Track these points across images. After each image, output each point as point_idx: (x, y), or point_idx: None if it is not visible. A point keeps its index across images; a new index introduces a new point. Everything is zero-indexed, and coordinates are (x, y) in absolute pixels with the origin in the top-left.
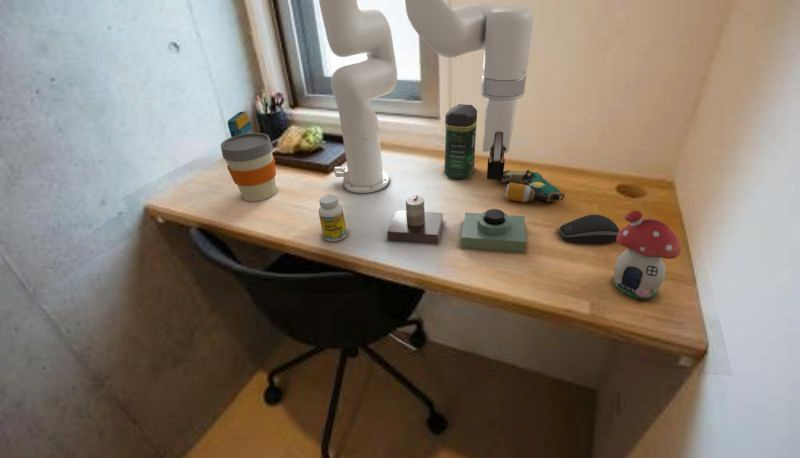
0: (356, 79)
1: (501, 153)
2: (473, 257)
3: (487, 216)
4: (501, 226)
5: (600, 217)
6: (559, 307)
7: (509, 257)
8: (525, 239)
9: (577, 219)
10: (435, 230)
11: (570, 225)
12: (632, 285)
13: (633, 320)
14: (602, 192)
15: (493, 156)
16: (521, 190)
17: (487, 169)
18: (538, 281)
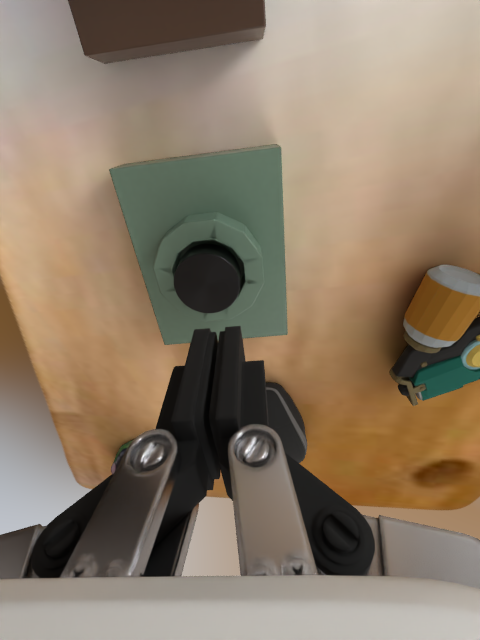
0: None
1: (179, 552)
2: (97, 212)
3: (181, 264)
4: (174, 299)
5: None
6: (39, 380)
7: (139, 298)
8: (174, 343)
9: (287, 425)
10: (111, 31)
11: (268, 411)
12: (117, 466)
13: (73, 448)
14: (442, 443)
15: (40, 548)
16: (428, 325)
17: (185, 369)
18: (88, 352)
